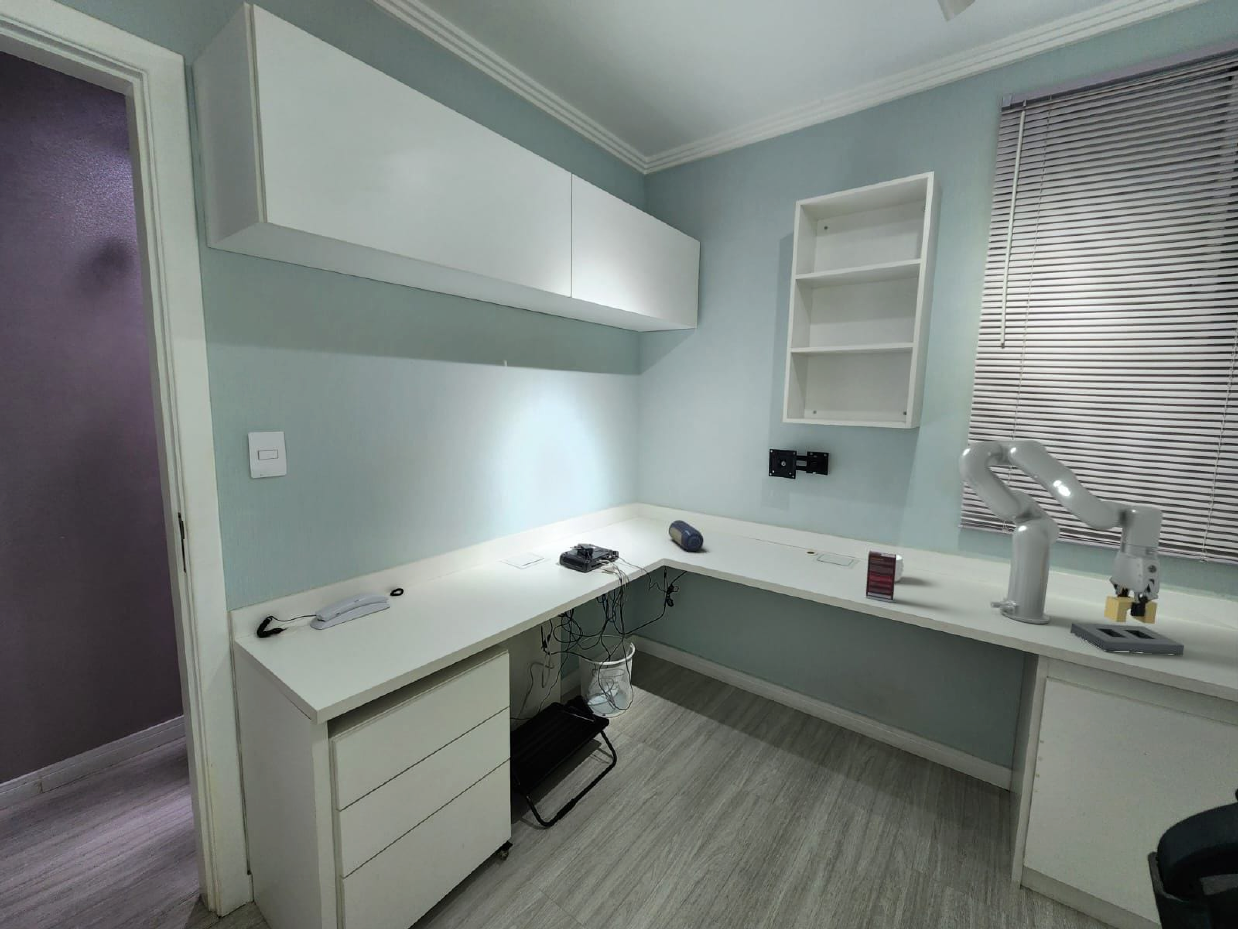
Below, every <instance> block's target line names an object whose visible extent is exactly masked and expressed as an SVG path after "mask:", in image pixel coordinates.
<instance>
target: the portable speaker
mask: <svg viewBox="0 0 1238 929" xmlns="http://www.w3.org/2000/svg"><path fill="white" fill-rule="evenodd" d="M668 534H669V536H670V537H671V539H672V540H674V541H675V542H676V543H677V544H679V545H680V546H681V547H682V548H684V550H686V551H689V552H695V551H698V550H700V549H701V548H702V547H703V545H704V542H705V541H704V537H703V535H702V533H701V532H700V531H699V530H698V529H696V528H695V527H693V526H692V525H690V524H689V523H687V522H685V521H684V520H679V519H677V520H675V521H672V522H671V523H670V526H669V527H668Z"/></svg>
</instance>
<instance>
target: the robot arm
mask: <svg viewBox="0 0 1238 929" xmlns="http://www.w3.org/2000/svg"><path fill="white" fill-rule="evenodd" d="M957 466H958V472H959V475H960V476H961V478H962V479H963V481H964V482H965V483H966V484H967V486H968V487H969V488H970V489H971V490H972V491H973V492H974V493H975V494H976V496H977V497H978V498H979V499H980V501H982V502H983V504H984V505H985V506H986V507H987V508H988V509H989V510H990V511H991V513H993V515H994V516H995V517H996V518H998V519H999V520H1001V521H1005V522H1012V523H1013V524H1014V525H1015V526H1016V527H1015V528H1014V529H1013V532H1012V537H1011V538H1012V539H1011V545H1012V546H1011V547H1012V548H1011V559H1010V569H1009V570H1010V572H1009V579H1008V588H1007V595H1006V596H1007V597H1006V598H1003V600H1001V601H990V605H989V606H990V608H992V609H993V608H994V609H995V608H997V609H999V612H1000V614H1002V616H1006V617H1008V618H1009V619H1013V620H1015V621H1019V622H1023V623H1028V624H1034V625H1045V624H1048V623H1050V617H1049V616H1048V615H1047V614H1046V613H1044V612H1045V606H1046V597H1047V589H1048V583H1049V575H1050V574H1049V573H1050V566H1051V550H1052V549H1051V547H1052V544H1054V543H1056V542H1057V541H1058V539H1059V538H1060V535H1061V530H1060V527H1059V524H1058V523H1057V522H1056V521H1055V519H1054V518H1053V517H1052V516H1051V515H1050V514H1049V513H1048V512H1047V511H1046V510H1045V509H1044V508H1043V507H1042V506H1041V505H1040V504H1039V503H1038V502H1037V501H1036V500H1035V499H1034V498H1033V497H1032V496H1031V495H1029V494H1028V493H1026V492H1024V491H1023V490H1018V489H1011V487H1010V486H1008V485H1007V484H1006V483H1005V482H1004V481H1003V479H1002V478H1001V477H1000V476H999V475H997V474H996V473H995V472H994V471H993V470H992V469H991V468H990V466H991V467H992V466H995V467H997V466H999V467H1000V466H1002V467H1003V466H1004V467H1006V466H1009V467H1011V466H1012V467H1013V466H1014V467H1016V468H1017V469H1018V470H1019V471H1020V472H1022V473H1024V474H1025V475H1026V476H1028V477H1029V478H1030V479H1031V480H1033V481H1034V482H1035V483H1037V484H1038V485H1039V486H1041V487H1042V488H1043V489H1044V490H1045V491H1046V492H1048V493H1049V495H1050V496H1051V497H1053V499H1055V500H1056V501H1057V502H1058V504H1060V505H1061V506H1062V507H1063V508H1064V509H1065V510H1066V511H1068V512H1069V513H1070V514H1071V515H1072V516H1074V517H1076V518H1077V519H1078V520H1079V521H1081V522H1082V523H1084V524H1085V525H1086V526H1088V527H1089V528H1092V529H1094V530H1098V531H1107V530H1108V531H1109V530H1112V529H1113V528H1115V527H1117V528H1118V527H1119V528H1120V527H1121V535H1120V543H1119V549H1118V550H1117V553H1116V556H1115V559H1114V562H1113V567H1112V571H1111V572H1112V573H1111V577H1110V578H1109V582H1110V584H1111V585H1112V586H1113V588H1114V591H1115V594H1114V595H1116V597H1131V596H1130V593H1131V591H1132V592H1133V597H1134V602H1132V606H1131V609H1127V611H1128V610H1130V612H1129V615H1130V616H1131V617H1132V616H1136V617H1143V616H1144V613H1145V606H1146V604H1148V603H1149V601H1154V600H1157V599H1159V595H1158V594H1159V592H1160V588H1161V563H1160V559H1159V558H1158V556H1159V552H1158V551H1159V544H1160V536H1161V530H1162V525H1163V516H1164V515H1163V514H1164V513H1163V512H1162V510H1161V509H1159V508H1156V507H1152V506H1147V505H1131V504H1125V503H1121V502H1117V501H1111V500H1101V499H1100V498H1098V497H1097V496H1096V495H1094V494H1093V493H1092V492H1090V491H1089V490H1088V489H1087V488H1086V487H1085V486H1084V485H1082V483H1081V482H1080V481H1079V479H1078V477H1077V475H1076V474H1075V472H1074V471H1073V470H1072V469H1071V468H1069V467H1068V466H1066V465H1065V464H1064V463H1062V462H1061V461H1060V460H1058V459H1057V458H1056V457H1054V456H1052V455H1051V454H1050V453H1048V450H1047V448H1046V446H1045V445H1044V444H1043V443H1041V442H1040V441H1037V440H1032V439H1028V440H1026V439H1025V440H1024V439H1023V440H990V441H989V440H988V441H977V442H973V443H970V444H969V445H967V446H966V447H965V448H964V449H963V450H962V452H961V454H960V455H959V459H958V464H957ZM1141 595H1142V596H1141Z"/></svg>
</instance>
